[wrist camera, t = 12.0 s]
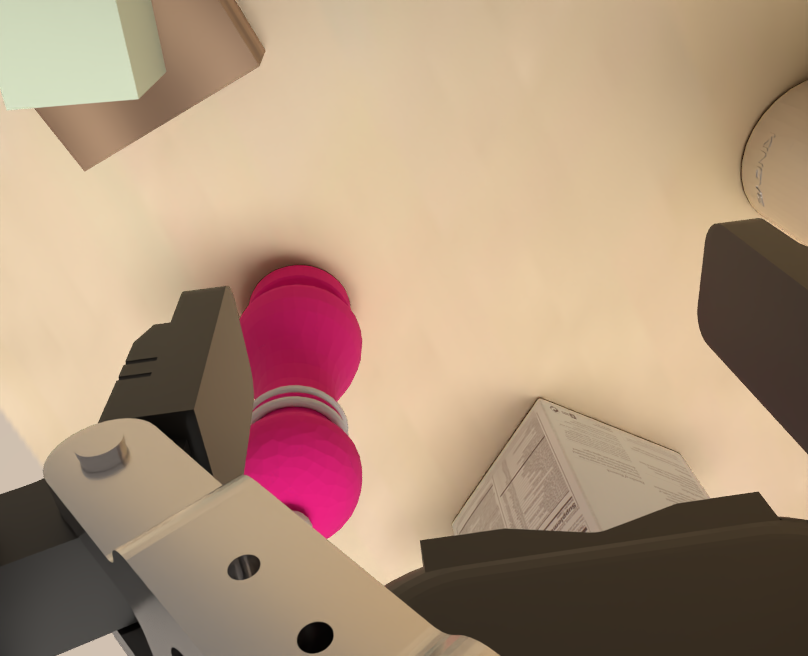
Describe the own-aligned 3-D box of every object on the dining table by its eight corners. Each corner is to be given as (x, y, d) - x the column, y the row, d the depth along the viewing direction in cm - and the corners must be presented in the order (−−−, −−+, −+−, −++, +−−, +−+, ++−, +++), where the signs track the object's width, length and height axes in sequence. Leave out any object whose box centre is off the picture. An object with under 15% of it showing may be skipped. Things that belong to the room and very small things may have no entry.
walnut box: (144, -152, 34) (118, -163, 29) (265, 49, 38) (259, 66, 34) (-28, -37, 35) (-76, -30, 31) (110, 144, 40) (84, 171, 36)
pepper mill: (246, 248, 43) (198, 469, 26) (366, 264, 45) (399, 484, 27) (236, 353, 47) (188, 611, 29) (349, 364, 48) (367, 618, 30)
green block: (140, -51, 31) (104, -45, 26) (166, 71, 34) (138, 99, 29) (20, -42, 31) (-40, -35, 26) (55, 81, 33) (6, 110, 28)
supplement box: (446, 525, 56) (494, 752, 41) (537, 393, 51) (631, 596, 35) (586, 570, 60) (679, 791, 45) (684, 451, 55) (826, 656, 39)
